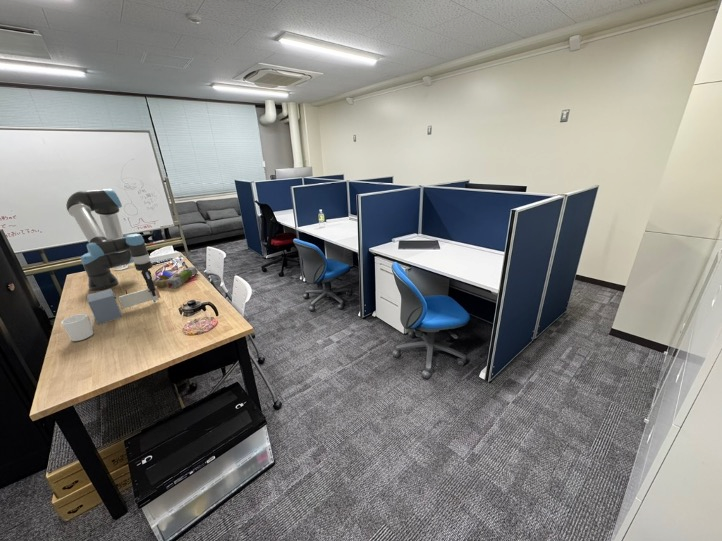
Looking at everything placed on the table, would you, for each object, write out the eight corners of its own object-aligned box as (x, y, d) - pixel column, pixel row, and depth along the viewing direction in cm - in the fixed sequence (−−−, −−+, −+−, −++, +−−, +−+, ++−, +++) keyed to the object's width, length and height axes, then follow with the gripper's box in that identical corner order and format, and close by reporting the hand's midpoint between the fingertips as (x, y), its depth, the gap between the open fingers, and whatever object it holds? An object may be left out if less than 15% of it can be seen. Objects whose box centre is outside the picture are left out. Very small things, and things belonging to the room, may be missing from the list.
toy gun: (174, 276, 211) (200, 274, 210) (147, 291, 185) (177, 290, 184) (171, 267, 208) (198, 265, 207) (143, 281, 183) (174, 280, 182)
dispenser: (96, 315, 158) (87, 294, 153) (120, 308, 164) (112, 288, 159) (97, 324, 149) (88, 302, 144) (123, 316, 156) (114, 295, 151)
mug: (74, 344, 134) (64, 326, 130) (67, 339, 138) (58, 320, 134) (103, 332, 142) (95, 314, 138) (96, 327, 147) (88, 310, 143)
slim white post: (122, 307, 160) (118, 296, 158) (160, 296, 171) (156, 286, 169) (122, 308, 159) (118, 297, 157) (160, 297, 170) (157, 286, 168)
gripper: (132, 260, 164) (145, 296, 173) (136, 267, 152) (150, 306, 161) (147, 256, 168) (159, 292, 177) (153, 263, 157) (165, 301, 166)
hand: (155, 299), depth 169 cm, fingers open, 3 cm apart
